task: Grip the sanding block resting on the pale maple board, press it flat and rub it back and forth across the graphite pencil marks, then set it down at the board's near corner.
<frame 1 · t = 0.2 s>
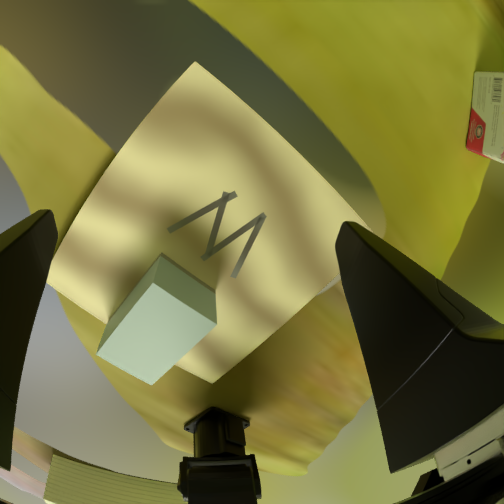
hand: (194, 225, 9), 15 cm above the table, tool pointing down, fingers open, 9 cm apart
sanding block: (158, 306, 26), point 1 cm above the table, touching maple board
maple board: (201, 250, 26), on the table
ink box: (481, 114, 23), on the table
stack of papers: (131, 482, 47), on the table
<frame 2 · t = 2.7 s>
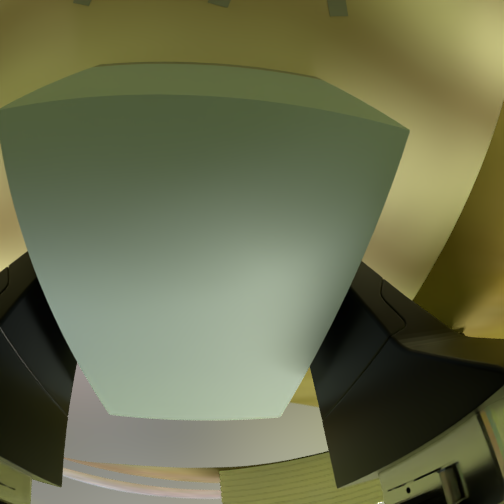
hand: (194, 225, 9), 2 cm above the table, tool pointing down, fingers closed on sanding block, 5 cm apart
sanding block: (195, 215, 9), point 2 cm above the table, touching gripper, maple board
maple board: (214, 11, 7), on the table
stack of papers: (323, 456, 42), on the table
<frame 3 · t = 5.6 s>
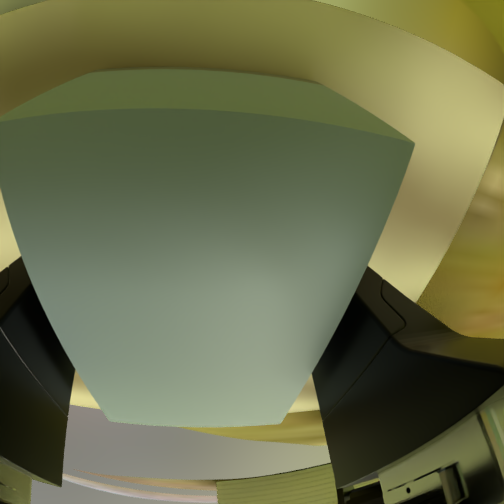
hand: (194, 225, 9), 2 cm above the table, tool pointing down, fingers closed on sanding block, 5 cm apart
sanding block: (195, 222, 9), point 2 cm above the table, touching gripper
maple board: (197, 286, 13), on the table
stack of papers: (305, 471, 48), on the table
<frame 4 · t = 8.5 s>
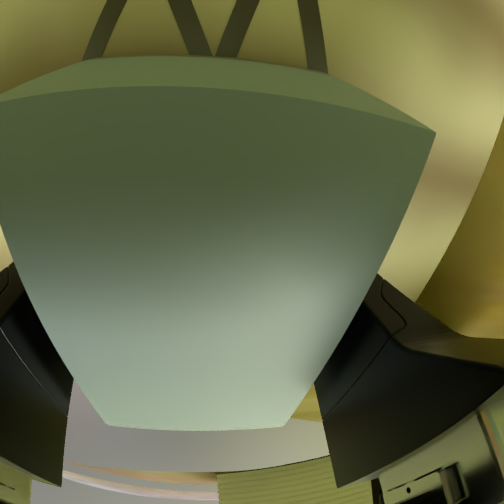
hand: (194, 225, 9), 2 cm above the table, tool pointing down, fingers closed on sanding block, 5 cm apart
sanding block: (194, 217, 9), point 2 cm above the table, touching gripper
maple board: (205, 100, 8), on the table
stack of papers: (317, 461, 44), on the table
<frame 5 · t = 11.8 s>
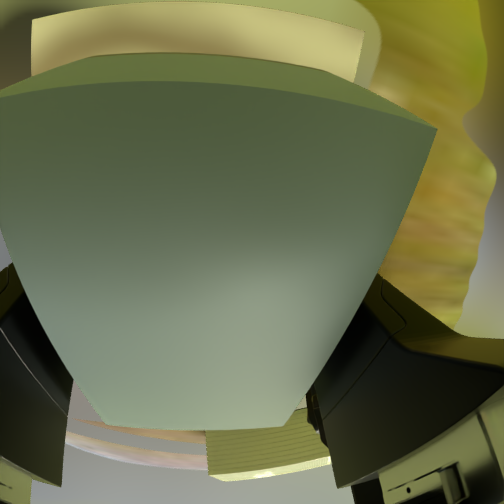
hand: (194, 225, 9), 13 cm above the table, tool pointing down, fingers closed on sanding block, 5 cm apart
sanding block: (194, 216, 9), point 13 cm above the table, touching gripper
maple board: (181, 164, 21), on the table
stack of papers: (289, 418, 57), on the table
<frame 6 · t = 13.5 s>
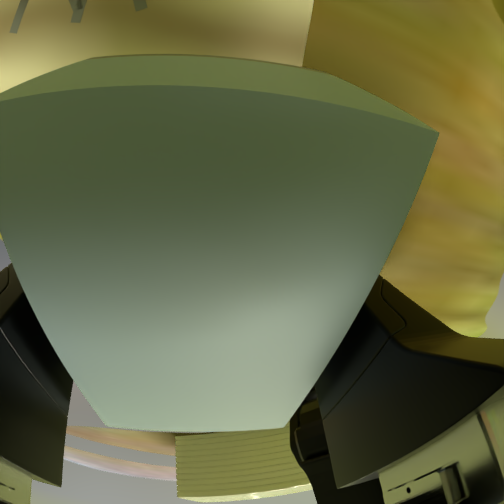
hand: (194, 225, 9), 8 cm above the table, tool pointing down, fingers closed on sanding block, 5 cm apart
sanding block: (194, 218, 9), point 8 cm above the table, touching gripper
maple board: (86, 24, 10), on the table
stack of papers: (280, 430, 45), on the table
when the fingers open (3 cm above the table, at t = 14.8 s): sanding block drops 1 cm, resting on maple board.
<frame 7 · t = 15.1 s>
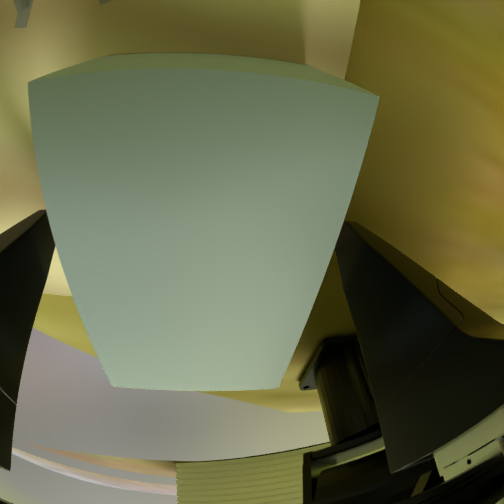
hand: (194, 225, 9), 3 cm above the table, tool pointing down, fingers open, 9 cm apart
sanding block: (196, 193, 10), point 1 cm above the table, touching maple board
maple board: (40, 27, 7), on the table
stack of papers: (284, 456, 42), on the table
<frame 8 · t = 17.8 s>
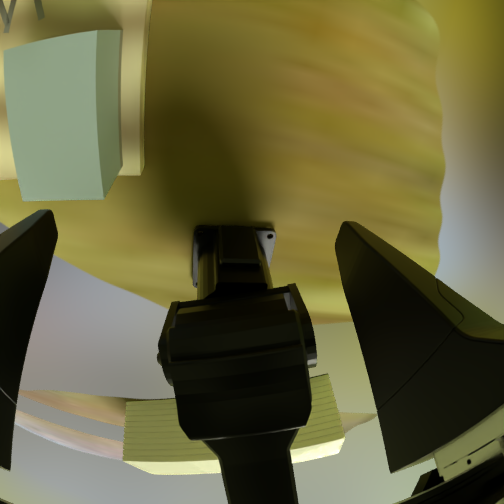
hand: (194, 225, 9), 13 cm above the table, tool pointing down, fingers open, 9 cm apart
sanding block: (80, 102, 16), point 1 cm above the table, touching maple board
maple board: (16, 32, 12), on the table
stack of papers: (229, 403, 47), on the table
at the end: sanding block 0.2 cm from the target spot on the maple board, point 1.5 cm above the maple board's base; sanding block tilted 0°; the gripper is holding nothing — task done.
